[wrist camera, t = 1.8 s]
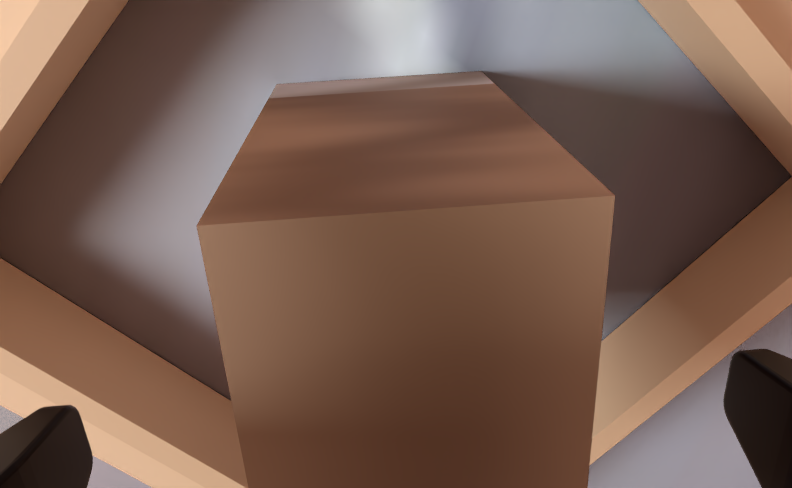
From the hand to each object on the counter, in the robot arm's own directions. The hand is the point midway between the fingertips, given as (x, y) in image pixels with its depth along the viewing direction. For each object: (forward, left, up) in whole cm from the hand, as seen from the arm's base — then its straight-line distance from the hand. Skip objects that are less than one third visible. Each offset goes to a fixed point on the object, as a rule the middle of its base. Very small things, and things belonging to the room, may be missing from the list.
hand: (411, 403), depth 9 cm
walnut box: (0, 0, -7) cm, 7 cm away
